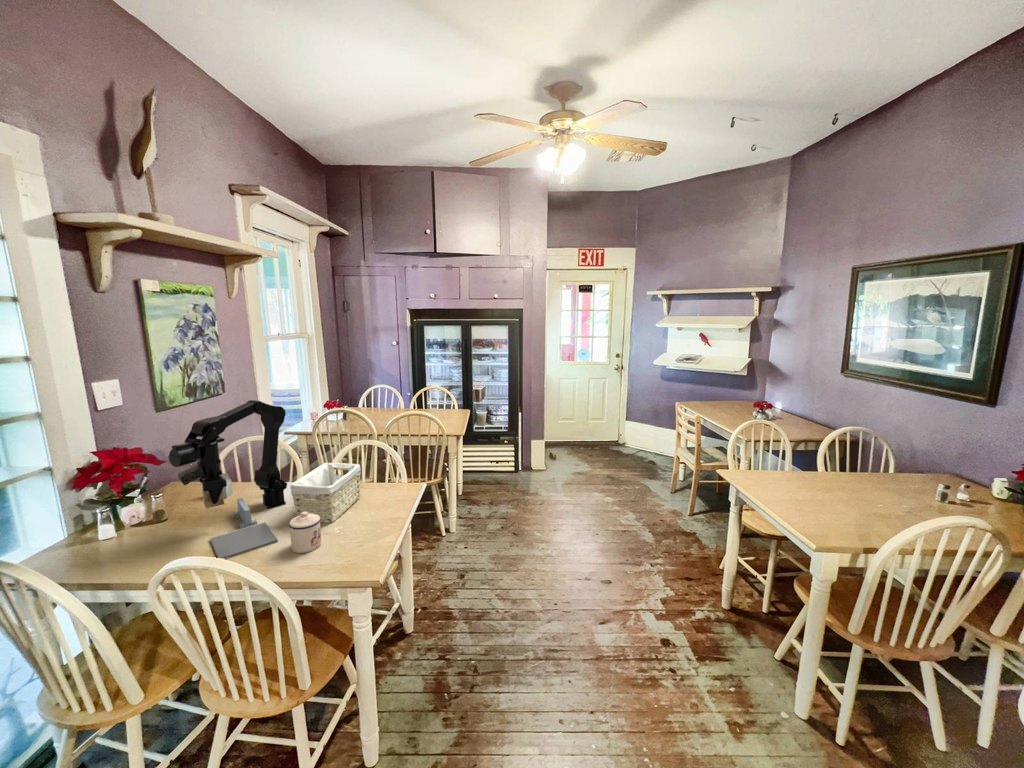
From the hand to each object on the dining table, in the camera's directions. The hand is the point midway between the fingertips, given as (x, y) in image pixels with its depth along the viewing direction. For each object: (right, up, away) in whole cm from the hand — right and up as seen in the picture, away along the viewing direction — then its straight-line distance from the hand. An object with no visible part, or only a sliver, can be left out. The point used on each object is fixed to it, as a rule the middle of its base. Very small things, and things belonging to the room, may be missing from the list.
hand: (213, 501), depth 140 cm
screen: (+4, -10, +10) cm, 14 cm away
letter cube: (0, -1, 0) cm, 1 cm away
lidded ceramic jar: (+35, -13, -6) cm, 38 cm away
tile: (+14, -12, -5) cm, 19 cm away
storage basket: (+32, -9, +19) cm, 38 cm away
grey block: (-18, -7, +30) cm, 35 cm away
